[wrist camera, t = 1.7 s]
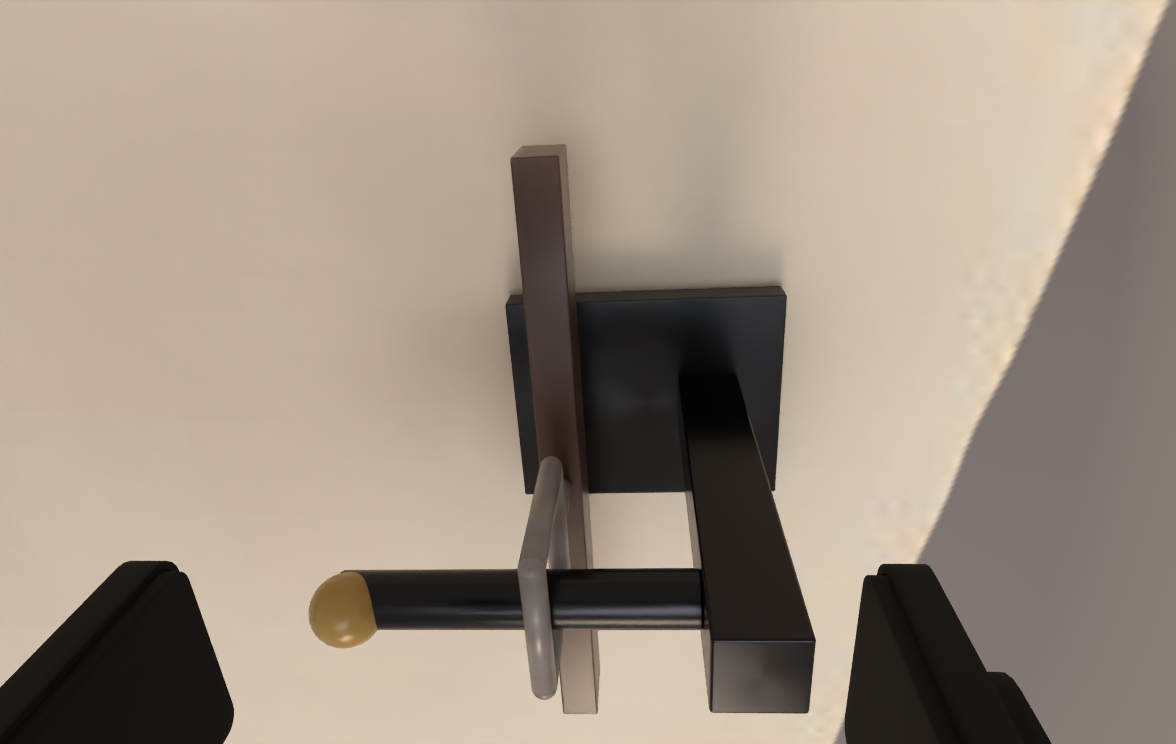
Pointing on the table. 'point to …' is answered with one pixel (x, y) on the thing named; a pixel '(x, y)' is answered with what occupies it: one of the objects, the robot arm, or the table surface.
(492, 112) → the table surface
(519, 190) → the hanger
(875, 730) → the robot arm
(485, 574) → the coat stand
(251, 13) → the table surface
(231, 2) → the table surface
